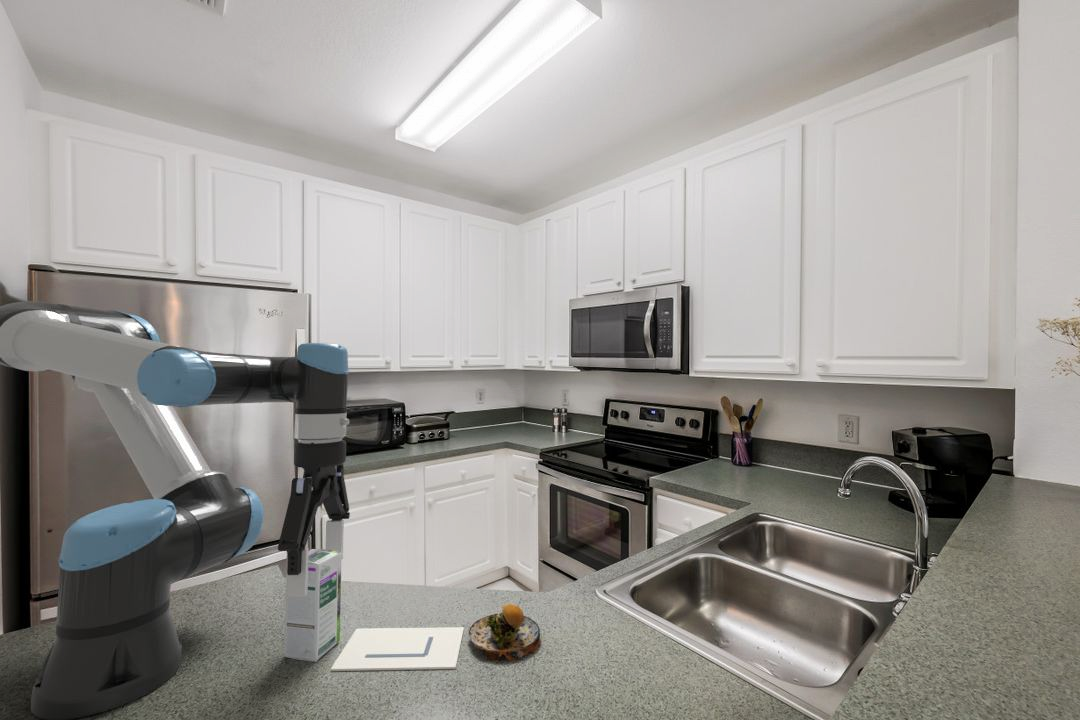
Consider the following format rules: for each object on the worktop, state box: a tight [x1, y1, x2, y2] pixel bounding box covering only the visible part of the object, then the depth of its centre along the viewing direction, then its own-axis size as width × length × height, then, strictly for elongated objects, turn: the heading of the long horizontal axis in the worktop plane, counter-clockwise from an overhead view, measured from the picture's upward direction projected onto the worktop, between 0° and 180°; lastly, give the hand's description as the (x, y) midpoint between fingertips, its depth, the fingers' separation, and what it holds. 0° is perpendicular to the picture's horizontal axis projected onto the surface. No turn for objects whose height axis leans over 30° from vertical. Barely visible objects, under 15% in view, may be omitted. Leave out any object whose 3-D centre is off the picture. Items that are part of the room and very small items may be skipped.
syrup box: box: [283, 548, 342, 663], centre depth 72 cm, size 6×6×14 cm
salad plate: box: [468, 596, 541, 662], centre depth 75 cm, size 12×12×8 cm
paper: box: [330, 626, 465, 672], centre depth 72 cm, size 18×11×1 cm, turn 93°
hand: (317, 576), depth 72 cm, fingers open, 13 cm apart
